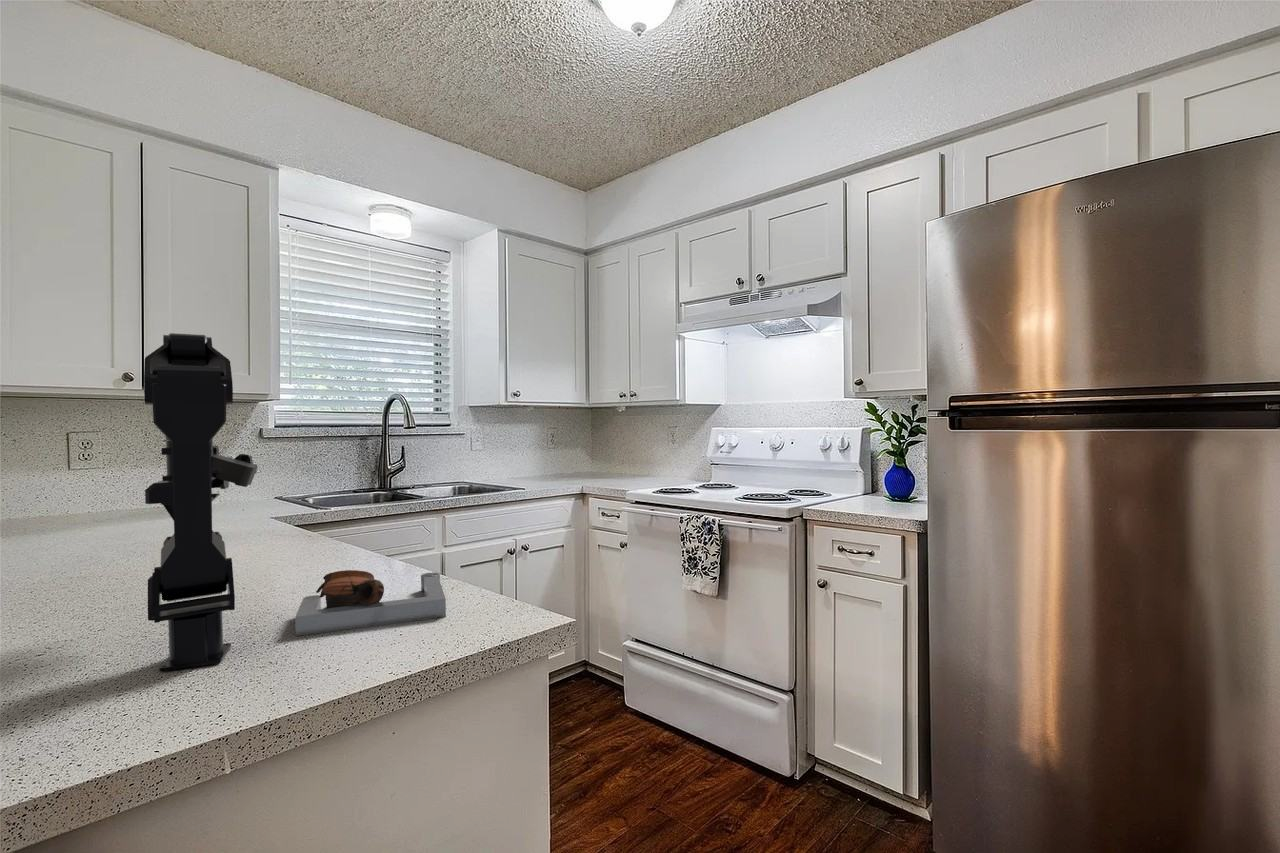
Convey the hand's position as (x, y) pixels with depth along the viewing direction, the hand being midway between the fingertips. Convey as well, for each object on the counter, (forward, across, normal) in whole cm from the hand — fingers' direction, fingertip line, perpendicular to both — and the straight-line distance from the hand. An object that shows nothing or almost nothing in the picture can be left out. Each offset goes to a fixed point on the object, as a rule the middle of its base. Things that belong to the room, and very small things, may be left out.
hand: (192, 543), depth 94 cm
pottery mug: (+13, -5, -22) cm, 26 cm away
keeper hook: (+12, -3, -25) cm, 28 cm away
